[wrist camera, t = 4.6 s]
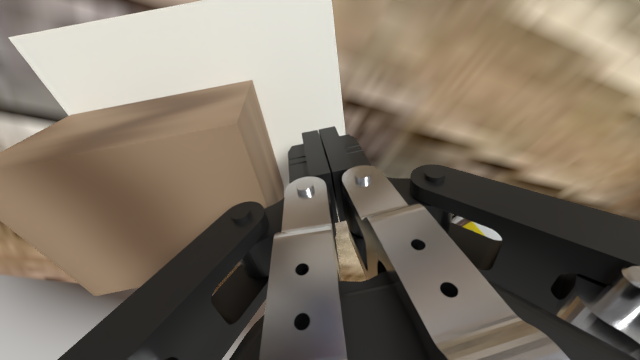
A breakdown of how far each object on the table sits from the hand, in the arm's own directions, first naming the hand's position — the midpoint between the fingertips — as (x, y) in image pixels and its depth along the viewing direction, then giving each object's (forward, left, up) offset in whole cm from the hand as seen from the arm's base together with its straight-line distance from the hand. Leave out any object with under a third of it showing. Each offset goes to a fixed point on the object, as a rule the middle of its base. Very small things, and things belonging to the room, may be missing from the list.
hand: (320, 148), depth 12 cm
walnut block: (+6, 0, -2) cm, 7 cm away
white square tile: (+4, 0, -2) cm, 5 cm away
